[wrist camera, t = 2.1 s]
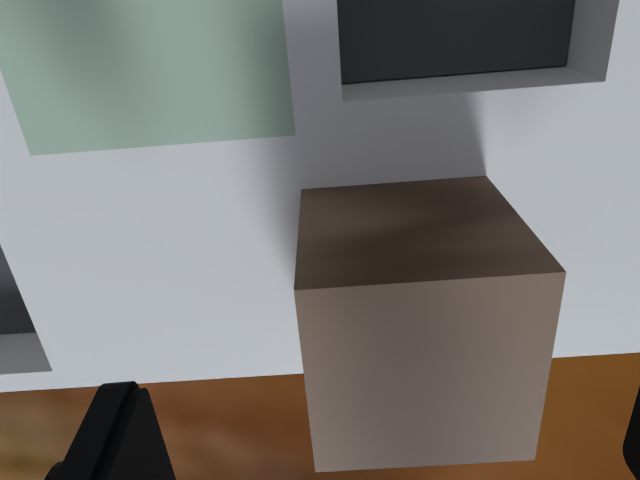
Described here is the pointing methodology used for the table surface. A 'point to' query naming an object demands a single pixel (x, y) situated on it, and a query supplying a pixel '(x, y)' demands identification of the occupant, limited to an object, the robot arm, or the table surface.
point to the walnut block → (423, 324)
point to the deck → (289, 164)
